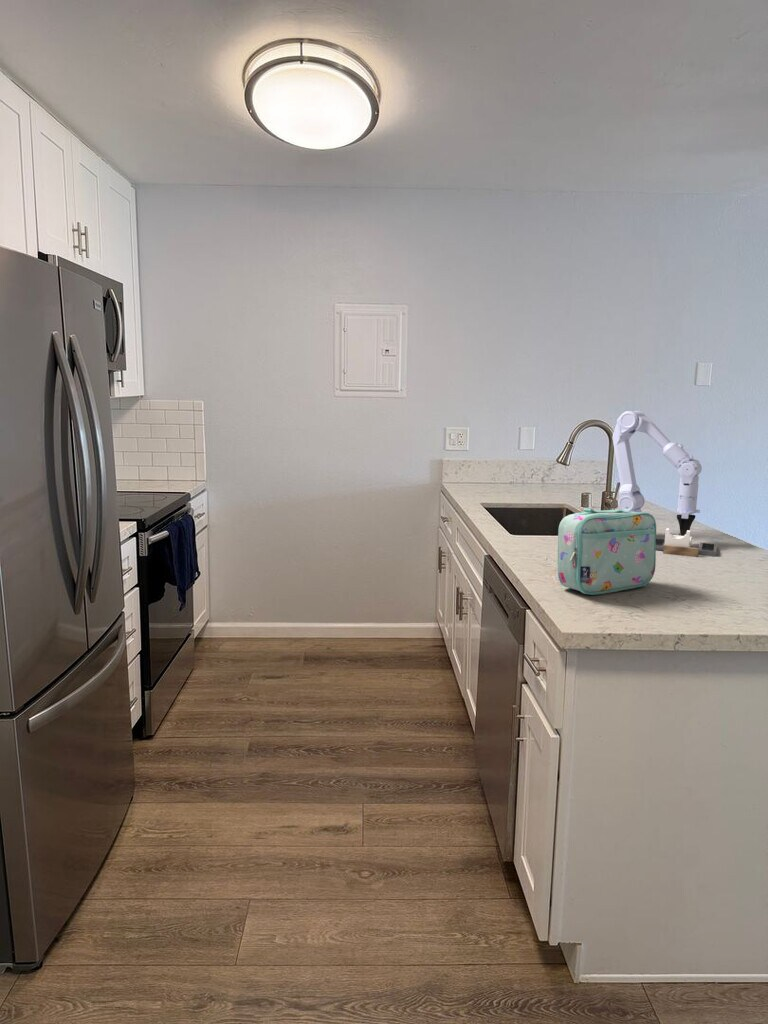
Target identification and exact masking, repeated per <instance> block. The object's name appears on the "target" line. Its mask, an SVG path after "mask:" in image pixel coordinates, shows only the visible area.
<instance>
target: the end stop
mask: <svg viewBox="0 0 768 1024" xmlns="http://www.w3.org/2000/svg"><path fill="white" fill-rule="evenodd" d="M698 551H699V547H692V546H691V547H682V546H672V545H664V549H663V551H662V554H667V555H677V556H687V557H696V558H698V557H699V555H698Z"/></svg>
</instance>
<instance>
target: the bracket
mask: <svg viewBox="0 0 768 1024" xmlns="http://www.w3.org/2000/svg"><path fill="white" fill-rule="evenodd" d="M664 531H665V532H664V533H665V534H664V539H665V544H664V545H672V546H682V547H692V544H693V536H691V529H690V530H687V532H686V534H685V535H684V536H681V535H679V534H672V533H671V528H667V527H666V529H665V530H664Z"/></svg>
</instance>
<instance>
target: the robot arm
mask: <svg viewBox="0 0 768 1024" xmlns="http://www.w3.org/2000/svg"><path fill="white" fill-rule="evenodd" d="M636 432H640V433H645V434H646V435H648V437H650V438H651V439H652V440H653V441H654V442H655V443H656V444H657V445H658V446H659V447H660V448H662V455H663V456H664V457H665V458H666V459H667V460H668V461H669V462H670V463H671V464H672V465H673V466H674V467H675V469H677V473H678V475H679V477H680V478H679V483H678V484H679V487H678V498H677V508H676V513H677V512H678V514H676V520H677V521H678V524H679V533H680V535H679V536H684V535H685V534H686V532H687V530H690V531H691V527H692V524H693V522H694V520H695V519H696V513H698V514H699V513H700V512H701V511H700V509H697V504H698V503H697V502H698V492H699V479H700V477H699V475H700V474H701V472H702V469H703V467H702V465H701V463H700V461H699V460H698V459H695V458H694V456H693V455H690V454H689V453H688V452H687V451H686V450H685V449H684V445H683V444H682V443H678V442H671V440H670V439H668V437H667V436H666V435H665V434H664V433H663V431H661V429H660V428H659V427H658V426H657V425H656V424H655V423H654V421H653V420H652V418H650V417H649V416H648V415H647V416H646V414H645V413H644V412H643V411H642V410H634V411H633V410H632V411H631V410H627V411H624V412H623V413H622V414H620V415H619V417H618V418H617V419H616V424H615V427H614V430H613V434H612V437H611V439H612V443H613V450H614V455H615V460H616V462H615V463H616V466H617V472H618V478H619V484H620V488H619V490H618V500H617V507H618V508H619V509H618V510H628V511H632V512H643V511H642V510H641V509H642V508H643V507H644V505H645V502H646V501H645V500H646V499H645V497H644V495H643V494H642V493H641V488H640V487H639V485H638V483H637V480H636V473H635V468H634V467H635V466H634V462H633V456H632V451H631V446H630V445H631V443H630V439H631V438H632V436H633V435H634V434H635V433H636Z"/></svg>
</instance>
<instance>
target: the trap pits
mask: <svg viewBox="0 0 768 1024" xmlns="http://www.w3.org/2000/svg"><path fill="white" fill-rule="evenodd" d="M664 544H665V538H658V537H657V538H656V552H657V551H658V552H659V551H660V552H663V549H664ZM698 548H699V550H698V556H706V557H707V556H708V557H717V556H716V555H717V549H718V544H717V543H712V542H711V543H709V542H702V541H701V542H699V546H698Z"/></svg>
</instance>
